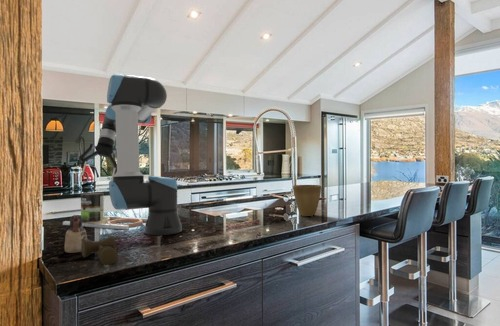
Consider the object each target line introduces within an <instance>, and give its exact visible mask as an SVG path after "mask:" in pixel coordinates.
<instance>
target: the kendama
mask: <svg viewBox="0 0 500 326" xmlns="http://www.w3.org/2000/svg"><path fill="white" fill-rule="evenodd" d="M81 251H82V252H81V255H82V257H83V258H87V257H89V256H90V255H92V254H94V253H96V252H97V258H98V259H99V263H101V265H104V266H109V265H113V264H114V263H116V262H117V260H118V258H119V252H118V251H117V249H116V239H115V237H114V236H112V235H111V236H108V237H107V238H105V239H102V240H97V241H95V240H90V239H88V238H87V239H85V238H83V240H82V244H81Z"/></svg>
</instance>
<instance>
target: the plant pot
mask: <svg viewBox="0 0 500 326" xmlns="http://www.w3.org/2000/svg"><path fill="white" fill-rule="evenodd" d="M292 188H293V189H292V190H293V194H294V195H293V196H294V200H295V204H296V207H297V210H298V213H299V215H300V216H301V215H302V216H301V217H304V216H311V217H314V216H313V215H315V216H316V213H317V209H318V208H319V207H318V206H319V202H320V198H321V191H322V185H320V184H296V185H295V184H294V185H292Z"/></svg>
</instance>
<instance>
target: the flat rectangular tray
mask: <svg viewBox="0 0 500 326" xmlns="http://www.w3.org/2000/svg"><path fill="white" fill-rule="evenodd" d="M127 218H132V217H130V216H129V217H128V216H115V215H114V216H113V215H104V220H101V221H92V222H82V227H83V228H84V227H86V228H99V229H111V230H112V229H113V230H130V227H129V226H127V225H113V224H107V222H108V221H112V220H116V219H127ZM133 218H134V219H141V220H142V221H143V223H146V222H147V219H148V217H147V218H143V217H133ZM62 226H70V220H65V221H62Z"/></svg>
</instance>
